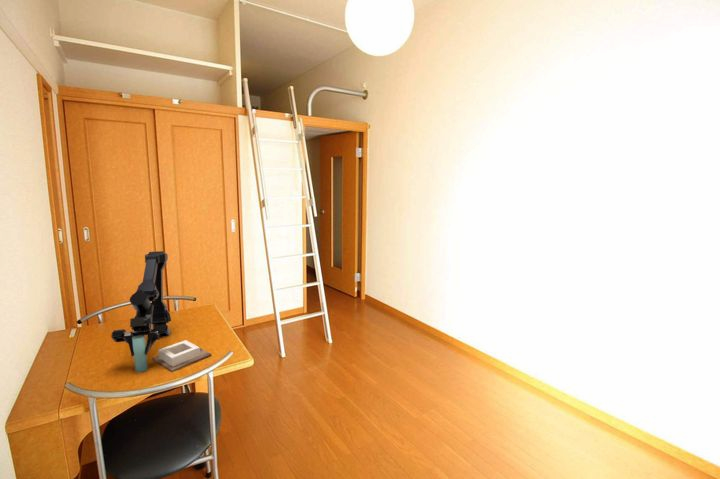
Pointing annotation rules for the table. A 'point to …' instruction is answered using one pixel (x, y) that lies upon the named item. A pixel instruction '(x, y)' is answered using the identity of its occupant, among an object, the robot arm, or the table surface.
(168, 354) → the socket
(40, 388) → the table surface
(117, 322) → the table surface
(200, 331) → the table surface
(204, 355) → the base board
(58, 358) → the table surface
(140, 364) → the teal peg
